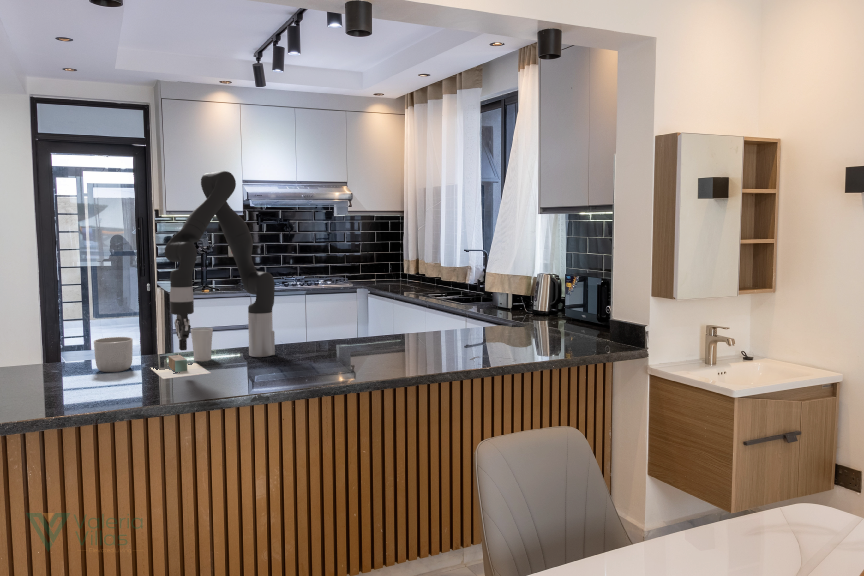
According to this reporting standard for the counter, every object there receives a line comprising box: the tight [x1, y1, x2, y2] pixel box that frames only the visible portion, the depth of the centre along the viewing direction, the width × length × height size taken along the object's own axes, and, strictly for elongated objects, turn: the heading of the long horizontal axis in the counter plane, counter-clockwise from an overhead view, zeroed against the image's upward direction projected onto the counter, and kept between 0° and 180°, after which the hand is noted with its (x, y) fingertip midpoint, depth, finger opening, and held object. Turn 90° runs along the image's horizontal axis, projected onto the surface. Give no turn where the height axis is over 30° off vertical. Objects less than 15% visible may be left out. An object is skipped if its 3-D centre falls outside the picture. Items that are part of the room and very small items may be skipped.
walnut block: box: [167, 354, 188, 372], centre depth 238 cm, size 4×4×10 cm
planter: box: [93, 336, 134, 373], centre depth 236 cm, size 12×12×11 cm
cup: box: [190, 326, 214, 362], centre depth 254 cm, size 8×8×12 cm
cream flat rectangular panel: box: [150, 362, 211, 380], centre depth 236 cm, size 16×20×1 cm
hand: (183, 349), depth 229 cm, fingers closed
